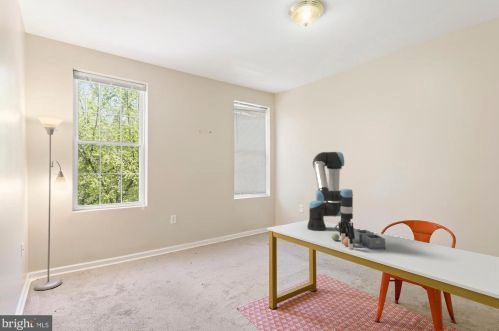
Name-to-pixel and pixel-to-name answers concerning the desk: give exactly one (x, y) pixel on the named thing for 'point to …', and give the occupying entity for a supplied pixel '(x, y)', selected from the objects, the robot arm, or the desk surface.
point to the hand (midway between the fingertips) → (346, 245)
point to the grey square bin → (360, 234)
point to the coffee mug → (340, 231)
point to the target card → (357, 244)
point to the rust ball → (345, 241)
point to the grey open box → (373, 241)
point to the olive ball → (335, 237)
